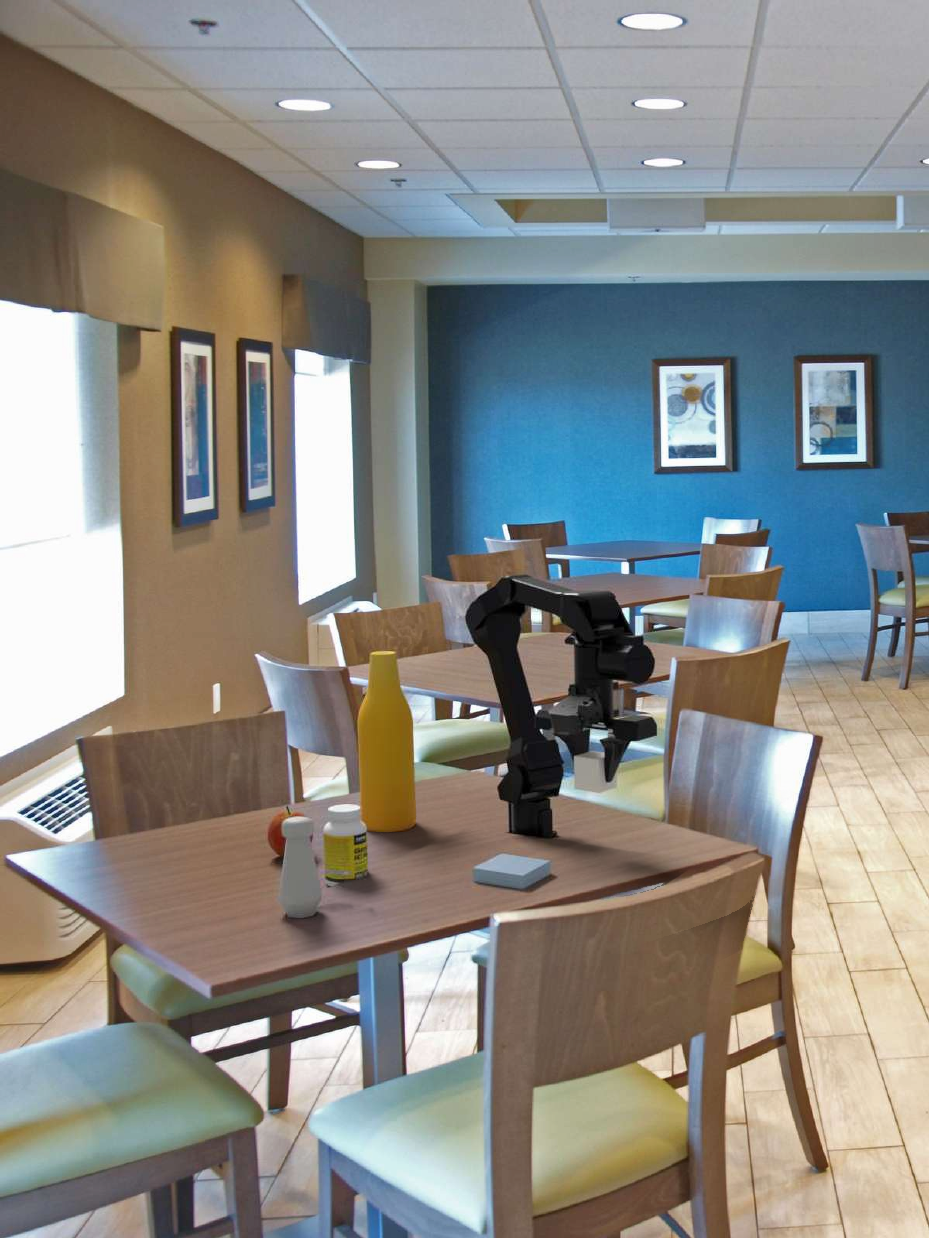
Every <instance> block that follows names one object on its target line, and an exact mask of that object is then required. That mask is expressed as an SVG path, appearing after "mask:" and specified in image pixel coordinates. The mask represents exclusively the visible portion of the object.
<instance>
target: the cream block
mask: <svg viewBox="0 0 929 1238" xmlns="http://www.w3.org/2000/svg"><path fill="white" fill-rule="evenodd" d="M573 772H574V790H579V791H584V792H591V793H597V794H600V793H603V792H606V791H607V792H608V791H610V790H613V789H616V788H617V787H618V774H617V771H616V773H615V775H614V778H613V780H612V781H611V782H609V783H607V782H606V779H605V761H604V751H603V752H602V751H596V750H595V751H594V750H589V752H586V753H583V754H579V755H576V756H574V762H573Z"/></svg>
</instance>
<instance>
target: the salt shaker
mask: <svg viewBox="0 0 929 1238" xmlns="http://www.w3.org/2000/svg"><path fill="white" fill-rule="evenodd" d="M314 828H315V825H314V821H313V820H312V819H311V818H309V817H307V816H306V817H291V818H287V819H285V820H284V821H283V822H282V829H281V830H282V835H283V837H285V838H286V846H285V853H284V857H283V862H282V868H281V878H280V885H279V891H278V901H279V904H280V905H281V907H282V908H283V910H284V912H285V914H286V916H287V918H295V919H302V918H307V917H313V916H314V915H315V914H316V912H317V910H318V909H319V905H320V903H321V901H322V895H323V892H322V887H321V883H320V879H319V878H320V877H319V873H318V869H317V868H318V867H317V864H316V860H315V854H314V850H313V846H312V843H311V840H310V836H311V835H313V836H314V830H315V829H314Z"/></svg>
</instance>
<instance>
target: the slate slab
mask: <svg viewBox="0 0 929 1238" xmlns="http://www.w3.org/2000/svg"><path fill="white" fill-rule="evenodd" d="M551 866H552V864H551V860H546V859H540V858H533V857H527V856H522V855H521V856H520V855H515V854H514V855H512V854H507V853H500V854H498V855H496V856H494V857H492V858H490V859H488V860H486V861H484V862H482V863H480V864H477V865H475V866H473V867H472V881H473V882H475V883H482V884H487V885H495V886H501V887H507V888H514V889H519V890H525V889H526V888H528V887H530V886H531V885H533V884H535V883H537V882H539V881H540V880H543V879H544V878H546V877H547V876H550V875H551V873H552V871H551V870H552V868H551Z"/></svg>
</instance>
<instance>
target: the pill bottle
mask: <svg viewBox="0 0 929 1238" xmlns="http://www.w3.org/2000/svg"><path fill="white" fill-rule="evenodd" d="M327 816H328V817H327V819H329V822H327V823H326V824H325V825H324V827H323V853H324V856H323V857H324V879H325V884H326V885H327V886H328V887H334V886H336V885H338V884H341V883H344V882H346V881H351V880H352V881H353V880H359V879H362V878H364V877H366V876H367V875H369V864H368V863H369V861H368V858H369V857H368V830H367V828H366V825H365V824H364V823H363V822H362V821H361V805H358V804H349V803H348V804H347V803H346V804H344V803H343V804H336V805H332V806H330V807H328V808H327Z"/></svg>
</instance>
